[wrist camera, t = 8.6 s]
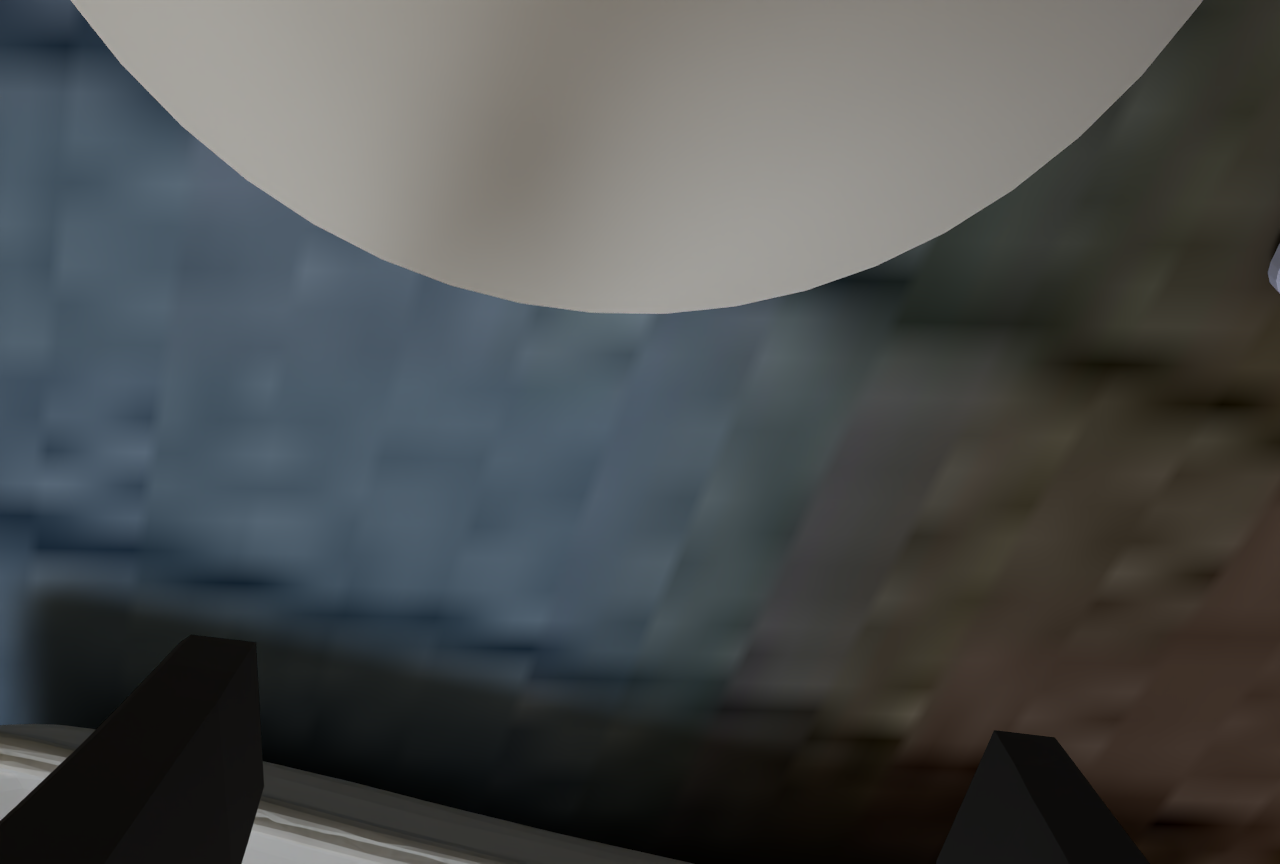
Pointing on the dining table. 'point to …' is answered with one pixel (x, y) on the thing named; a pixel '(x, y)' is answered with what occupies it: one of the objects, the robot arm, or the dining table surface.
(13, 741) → the square plate
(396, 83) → the lid
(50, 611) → the dining table surface
